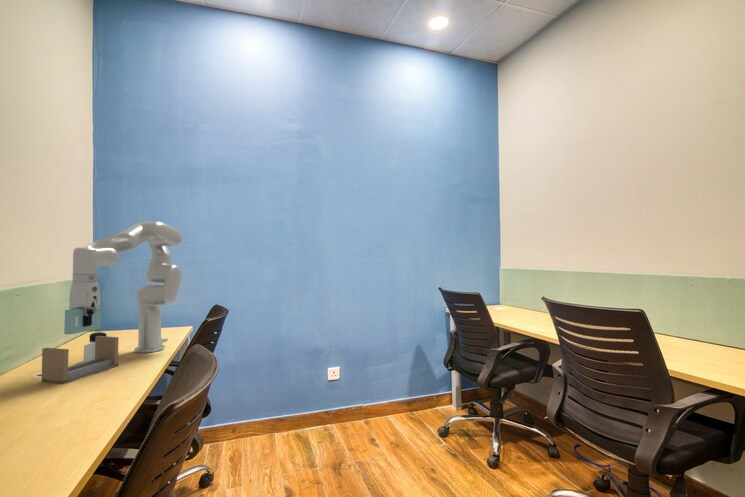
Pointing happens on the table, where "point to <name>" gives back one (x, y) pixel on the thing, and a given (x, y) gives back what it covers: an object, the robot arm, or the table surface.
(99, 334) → the medicine bottle
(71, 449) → the table surface
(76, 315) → the door panel
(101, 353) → the door frame
